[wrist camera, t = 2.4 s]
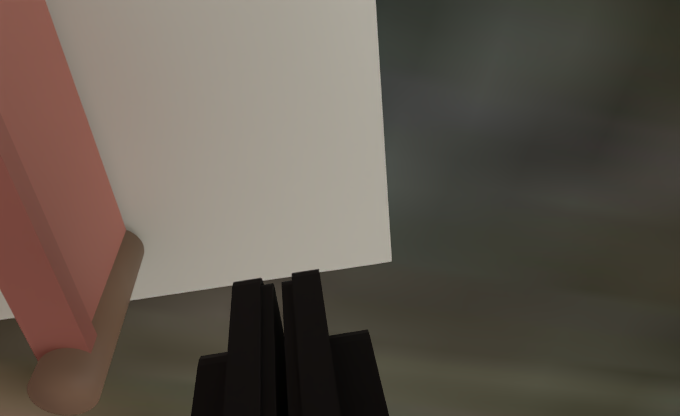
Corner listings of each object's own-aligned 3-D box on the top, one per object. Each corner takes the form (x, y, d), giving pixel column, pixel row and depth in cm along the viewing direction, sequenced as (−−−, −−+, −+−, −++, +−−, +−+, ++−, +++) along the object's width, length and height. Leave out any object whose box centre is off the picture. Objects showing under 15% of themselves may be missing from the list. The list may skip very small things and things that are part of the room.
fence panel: (-22, -35, 16) (-184, 22, 10) (45, -43, 16) (-77, 9, 10) (101, 272, 21) (41, 420, 15) (150, 265, 21) (109, 409, 16)
